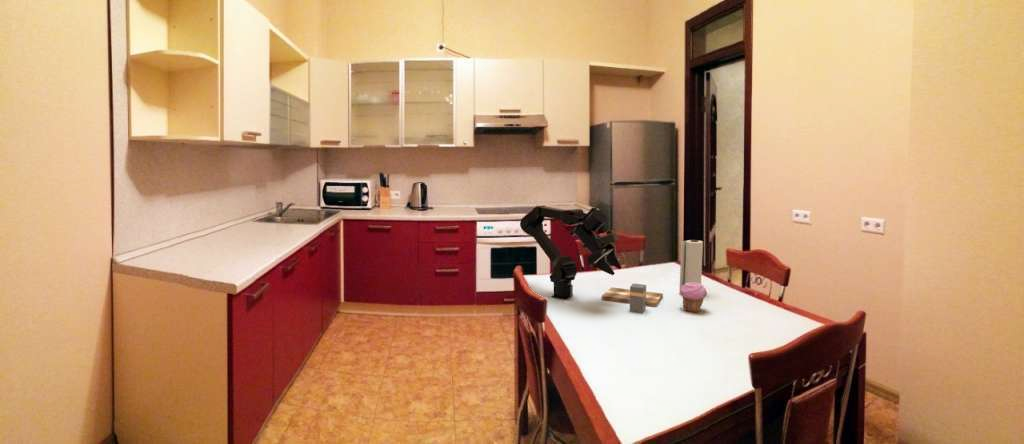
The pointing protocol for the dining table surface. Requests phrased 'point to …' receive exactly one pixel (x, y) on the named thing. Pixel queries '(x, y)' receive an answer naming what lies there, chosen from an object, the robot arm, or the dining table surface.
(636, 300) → the gift box with lid
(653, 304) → the cardboard box
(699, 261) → the paper towel roll
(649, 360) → the dining table surface
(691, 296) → the cupcake
